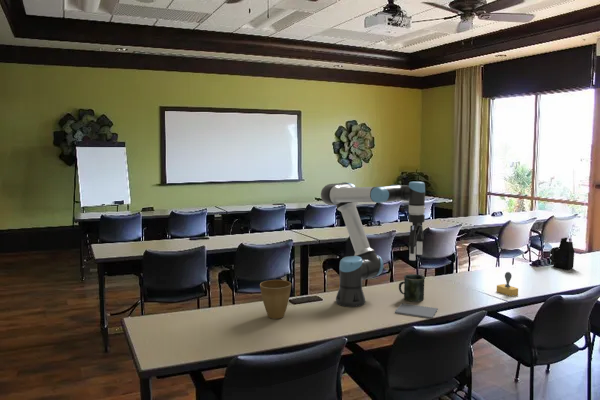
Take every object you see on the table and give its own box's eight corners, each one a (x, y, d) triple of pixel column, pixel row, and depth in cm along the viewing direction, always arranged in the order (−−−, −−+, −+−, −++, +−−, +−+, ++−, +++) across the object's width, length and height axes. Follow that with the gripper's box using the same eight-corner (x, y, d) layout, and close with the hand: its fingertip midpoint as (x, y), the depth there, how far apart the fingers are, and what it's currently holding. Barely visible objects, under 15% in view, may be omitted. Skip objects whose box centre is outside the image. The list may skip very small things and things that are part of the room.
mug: (428, 301, 263) (429, 278, 262) (404, 303, 259) (404, 281, 257) (417, 294, 273) (418, 273, 272) (393, 297, 269) (394, 275, 267)
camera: (554, 264, 341) (556, 235, 339) (574, 268, 330) (576, 238, 328) (546, 266, 335) (548, 236, 333) (566, 270, 324) (568, 240, 322)
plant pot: (297, 314, 243) (297, 282, 241) (280, 323, 230) (280, 290, 228) (271, 309, 250) (271, 277, 249) (253, 318, 238) (253, 285, 236)
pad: (394, 313, 245) (394, 311, 244) (402, 304, 257) (402, 303, 257) (432, 318, 237) (432, 317, 237) (437, 309, 249) (437, 308, 249)
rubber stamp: (518, 294, 274) (519, 273, 273) (511, 296, 271) (512, 274, 270) (503, 290, 283) (504, 269, 281) (496, 291, 280) (497, 270, 279)
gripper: (418, 217, 229) (417, 263, 231) (430, 211, 251) (429, 253, 253) (401, 216, 232) (401, 261, 234) (415, 210, 254) (414, 251, 257)
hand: (416, 257), depth 244 cm, fingers open, 13 cm apart
